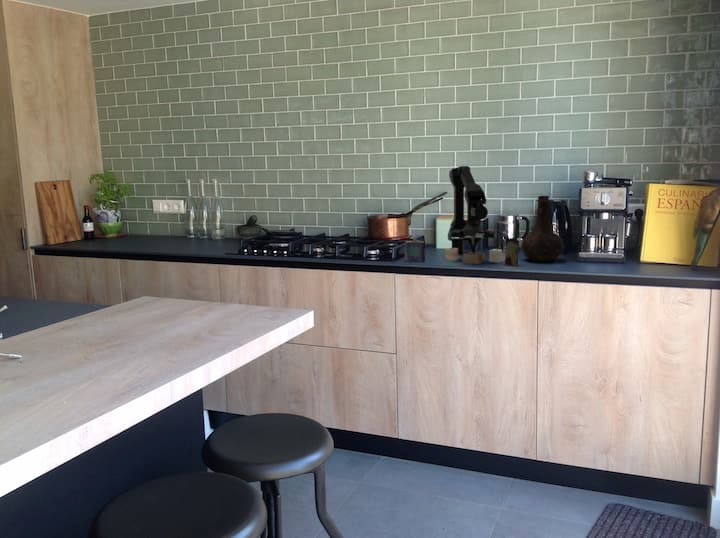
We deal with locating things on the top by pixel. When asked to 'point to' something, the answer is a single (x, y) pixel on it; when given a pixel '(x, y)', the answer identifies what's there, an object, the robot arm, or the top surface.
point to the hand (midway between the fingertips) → (473, 253)
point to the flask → (414, 251)
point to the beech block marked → (451, 254)
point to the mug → (510, 251)
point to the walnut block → (473, 257)
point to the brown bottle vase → (542, 237)
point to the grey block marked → (496, 255)
